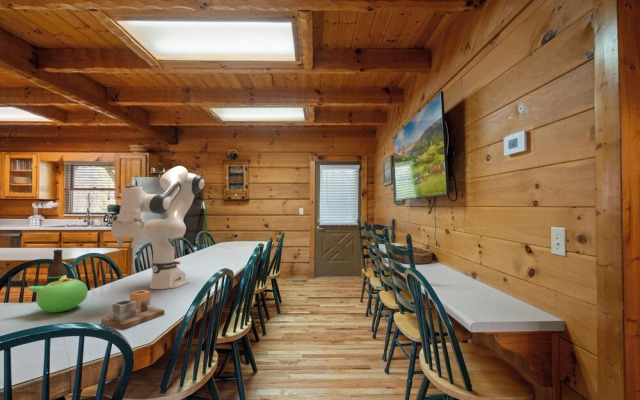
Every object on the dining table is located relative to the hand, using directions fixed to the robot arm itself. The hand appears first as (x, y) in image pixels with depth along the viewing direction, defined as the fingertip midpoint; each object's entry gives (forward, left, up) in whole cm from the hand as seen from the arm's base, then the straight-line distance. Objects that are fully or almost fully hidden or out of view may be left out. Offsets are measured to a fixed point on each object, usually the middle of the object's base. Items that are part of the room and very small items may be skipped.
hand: (126, 247), depth 148 cm
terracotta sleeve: (-2, +7, -27) cm, 28 cm away
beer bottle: (+8, -41, -28) cm, 50 cm away
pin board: (+11, +21, -27) cm, 36 cm away
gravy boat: (+18, -17, -28) cm, 37 cm away
